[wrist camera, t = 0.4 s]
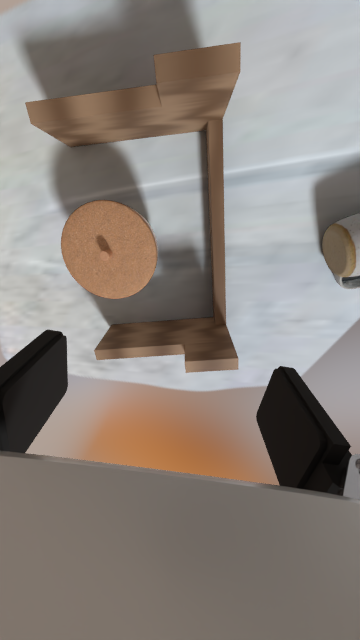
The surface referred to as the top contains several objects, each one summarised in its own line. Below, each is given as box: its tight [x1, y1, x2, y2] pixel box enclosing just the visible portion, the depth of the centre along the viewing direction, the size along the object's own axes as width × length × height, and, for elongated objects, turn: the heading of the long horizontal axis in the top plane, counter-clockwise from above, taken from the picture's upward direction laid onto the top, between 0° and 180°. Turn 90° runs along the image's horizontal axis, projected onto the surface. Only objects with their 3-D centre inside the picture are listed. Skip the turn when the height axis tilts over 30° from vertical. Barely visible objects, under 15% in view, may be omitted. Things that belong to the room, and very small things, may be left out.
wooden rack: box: [25, 43, 240, 373], centre depth 28 cm, size 18×27×12 cm, turn 5°
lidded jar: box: [61, 200, 158, 299], centre depth 29 cm, size 11×11×9 cm
